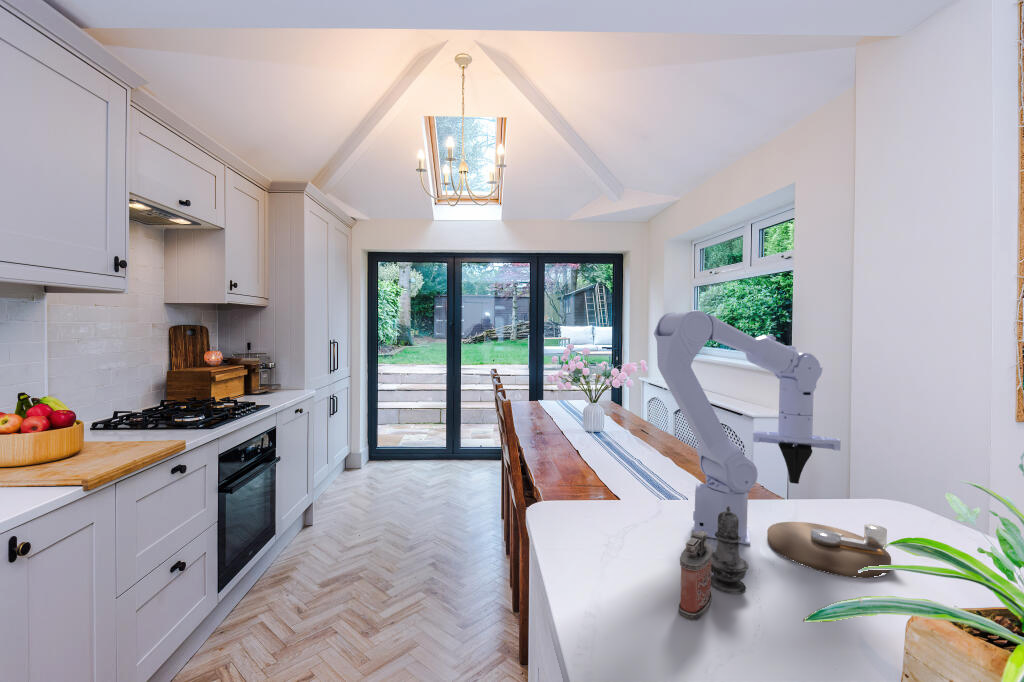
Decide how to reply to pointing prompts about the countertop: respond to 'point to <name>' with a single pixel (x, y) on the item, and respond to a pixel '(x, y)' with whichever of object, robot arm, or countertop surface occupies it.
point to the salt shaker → (728, 556)
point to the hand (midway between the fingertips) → (793, 482)
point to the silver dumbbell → (872, 539)
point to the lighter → (695, 577)
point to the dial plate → (825, 550)
